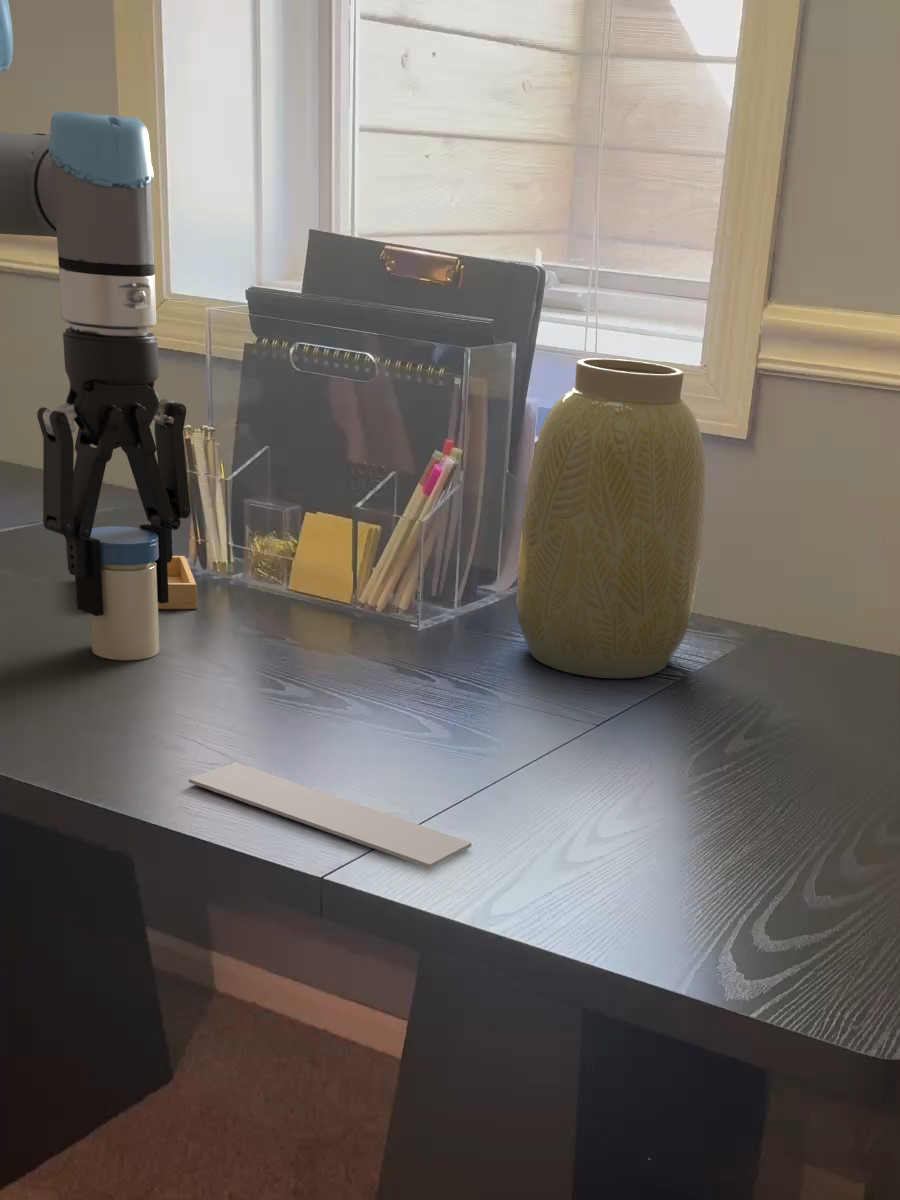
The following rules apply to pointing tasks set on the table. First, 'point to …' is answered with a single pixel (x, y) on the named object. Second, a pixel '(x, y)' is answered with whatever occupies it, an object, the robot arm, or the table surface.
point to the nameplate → (332, 814)
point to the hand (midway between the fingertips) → (123, 605)
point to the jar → (127, 613)
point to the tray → (180, 585)
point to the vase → (612, 523)
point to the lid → (126, 545)
